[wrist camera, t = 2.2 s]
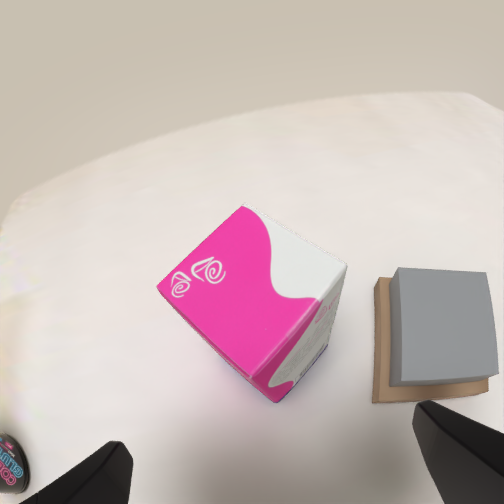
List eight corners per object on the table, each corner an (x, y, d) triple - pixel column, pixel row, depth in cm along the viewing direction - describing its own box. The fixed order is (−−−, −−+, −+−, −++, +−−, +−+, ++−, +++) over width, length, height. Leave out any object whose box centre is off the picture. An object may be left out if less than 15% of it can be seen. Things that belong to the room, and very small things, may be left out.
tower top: (471, 287, 19) (485, 272, 17) (479, 380, 15) (498, 373, 13) (388, 284, 21) (398, 267, 18) (389, 386, 17) (401, 380, 15)
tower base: (464, 294, 21) (477, 281, 19) (472, 396, 17) (488, 391, 15) (372, 291, 23) (379, 277, 21) (369, 403, 18) (378, 400, 16)
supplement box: (268, 298, 23) (246, 196, 14) (329, 345, 21) (358, 265, 11) (215, 353, 21) (150, 283, 12) (276, 406, 19) (257, 385, 9)
